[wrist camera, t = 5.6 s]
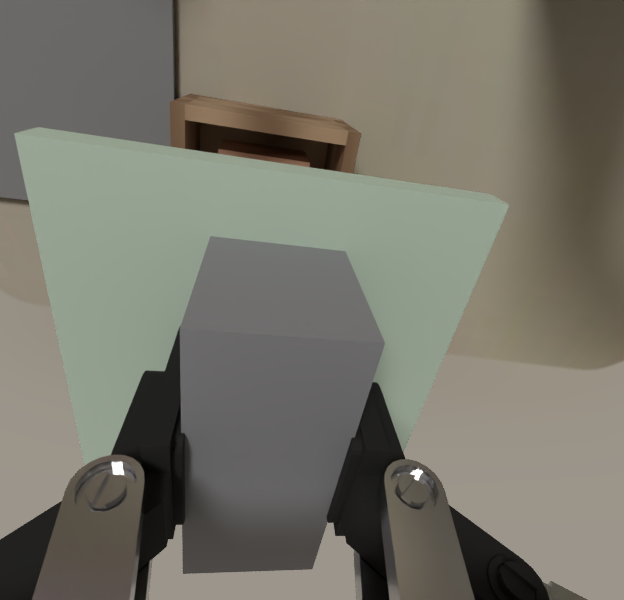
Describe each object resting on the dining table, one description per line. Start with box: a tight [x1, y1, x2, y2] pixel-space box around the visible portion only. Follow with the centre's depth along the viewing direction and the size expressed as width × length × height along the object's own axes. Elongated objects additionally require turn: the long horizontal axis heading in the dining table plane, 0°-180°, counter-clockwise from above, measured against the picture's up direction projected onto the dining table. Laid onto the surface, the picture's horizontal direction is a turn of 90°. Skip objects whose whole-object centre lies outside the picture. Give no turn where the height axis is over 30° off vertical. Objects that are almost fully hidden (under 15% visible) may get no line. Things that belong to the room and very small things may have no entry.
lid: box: [14, 127, 509, 574], centre depth 11 cm, size 12×12×6 cm
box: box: [170, 94, 361, 174], centre depth 28 cm, size 11×11×7 cm
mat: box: [0, 0, 176, 200], centre depth 26 cm, size 15×15×1 cm
